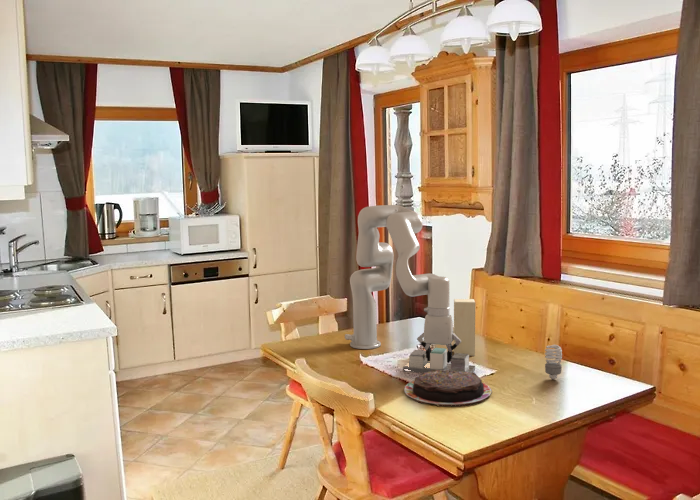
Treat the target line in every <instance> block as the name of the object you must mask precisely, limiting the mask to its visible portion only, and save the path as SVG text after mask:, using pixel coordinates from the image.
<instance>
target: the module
mask: <svg viewBox="0 0 700 500" xmlns="http://www.w3.org/2000/svg"><path fill="white" fill-rule="evenodd" d="M447 352H448V348H444V347H435V348H434V349H431V353H430V361H429V362H430V368H432V369H444V367H445V366H446V365H447V363H448V362H447Z"/></svg>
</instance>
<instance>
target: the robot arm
mask: <svg viewBox="0 0 700 500" xmlns="http://www.w3.org/2000/svg"><path fill="white" fill-rule="evenodd" d="M423 226H424V225H423V220H422V218H421V216H420V215H419V213H418V212H416V211H414V210H411V209H409V208H407V207H404V206H402V205H398V204H386V205H382V204H381V205H369V206H365V207H363V208H362V209H360V211H359V213H358V215H357V227H358V236H357V246H356V258H355V259H356V262H357V263H356V264H357V265H358V266H360V267H361V268H364V269H359V270H356V271H354V272H353V273H352V274H351V275H350V277H349V284H350V289H351V295H352V317H353V318H352V320H353V322H352V323H353V333H352V334H347V333H345V334H344V339H345V341H346V340H347V341H349V340H350V343H349V345H350V347H351V348H353V349H359V350H371V349H376V348H379V347H380V346H381V344H382V343H381V341H380V340H378V338H377V337H378V336H377V335H378V334H377V333H378V331H377V330H378V327H377V326H378V324H377V301H376V299H375V297H374V296H373V294H372V293H373V292H379V291H384V290H387V289H388V288H389V287H390V285H391V282H392V277H393V267H394V258H395V256H394V254H395V253H394V250H393V247H392V246H391V245H390V244H389V243H387V242H384V241H383V242H380V236H381V235H380V232H379V229H378V228H386V229H387V231H388V233H389V235H390V239H391V240H392V242H393V244H394V247H395V250H396V252H397V256H398V257H397V258H396V259H397V260H396V263H395V274H396V279H397V282H399V285H400V287H401V289H402V291H403V293H404V294H405V295H406V296H408V297H412V298H413V297H419V296H425V295H426V296H427V307H424V308H423V311H424V312H425V313H427V314H426V315H425V317H424V326H423V332H422V333H421V334H420V335H419V336H418V337H417V338H416V340H417V342H419V344H420V345H421V346H422V347H423V348H424V350H425V351H426V358H427V361H428V362H430V353H431V351H432V347H431V346H432V345H439V346H440V345H442V346H443V345H444V346H446V349H447V363H448V364H450V363H451V358H452V357H453V351H454V349H455V348H456V347H457V346H458V345H459V344H460V343H461V340H460V339H459V338H458V337H457V336H456V335H455V334H454V321H453V319H452V318H453V316H452V315H451V314H450V280H449V278H448V277H446V276H438V275H436V274H435V273H423V274H422V273H421V274H412V272H411V270H410V267H409V259H410V258H411V257H413V256H415V255H416V254H417V253H418V252H419V251H420V247H421V246H420V243H419V241H418V239H417V236H416V234H418V233H420V232H421V231H422V229H423ZM454 340H455V341H456V343H455V344H454V343H453V344H452V342H454Z"/></svg>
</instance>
